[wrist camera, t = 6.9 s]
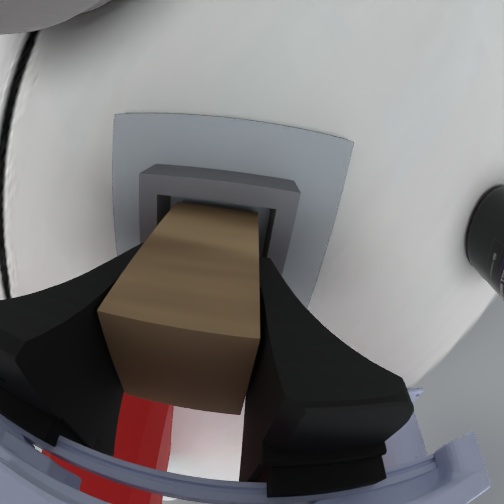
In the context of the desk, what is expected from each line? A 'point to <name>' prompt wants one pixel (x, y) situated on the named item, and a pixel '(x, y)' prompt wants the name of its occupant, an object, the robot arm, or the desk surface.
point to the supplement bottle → (489, 240)
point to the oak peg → (189, 310)
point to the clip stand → (232, 182)
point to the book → (132, 450)
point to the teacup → (41, 13)
